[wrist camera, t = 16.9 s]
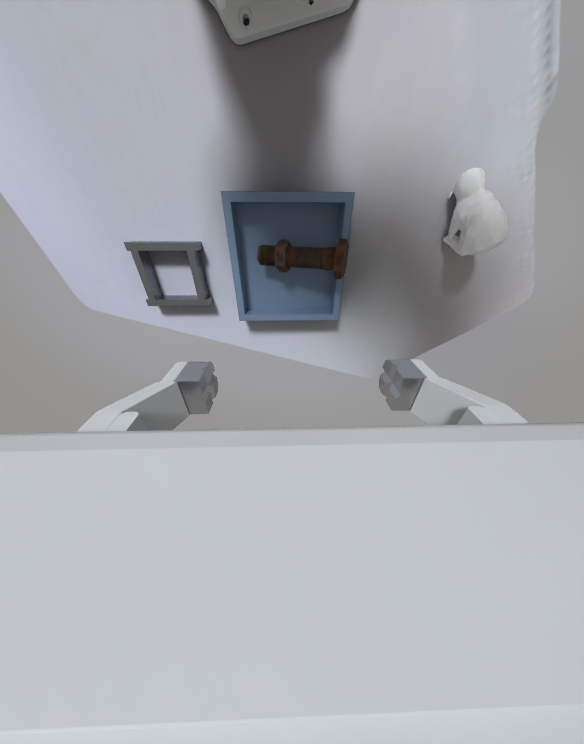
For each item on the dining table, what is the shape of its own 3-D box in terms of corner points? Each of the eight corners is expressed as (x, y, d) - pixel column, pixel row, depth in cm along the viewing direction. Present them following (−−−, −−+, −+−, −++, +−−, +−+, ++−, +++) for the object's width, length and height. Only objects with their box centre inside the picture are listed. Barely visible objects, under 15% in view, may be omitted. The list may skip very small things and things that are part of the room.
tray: (347, 195, 35) (354, 192, 32) (333, 312, 47) (337, 320, 43) (227, 194, 35) (220, 191, 31) (243, 313, 46) (239, 320, 43)
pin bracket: (200, 241, 39) (195, 242, 36) (213, 301, 45) (209, 305, 42) (134, 241, 38) (123, 242, 36) (155, 301, 44) (148, 305, 42)
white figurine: (475, 261, 34) (470, 170, 28) (442, 259, 41) (434, 187, 36) (520, 240, 32) (525, 141, 27) (478, 243, 40) (475, 165, 34)
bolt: (267, 250, 40) (348, 254, 37) (263, 276, 40) (342, 283, 37) (255, 229, 34) (349, 232, 31) (250, 260, 34) (343, 266, 31)
